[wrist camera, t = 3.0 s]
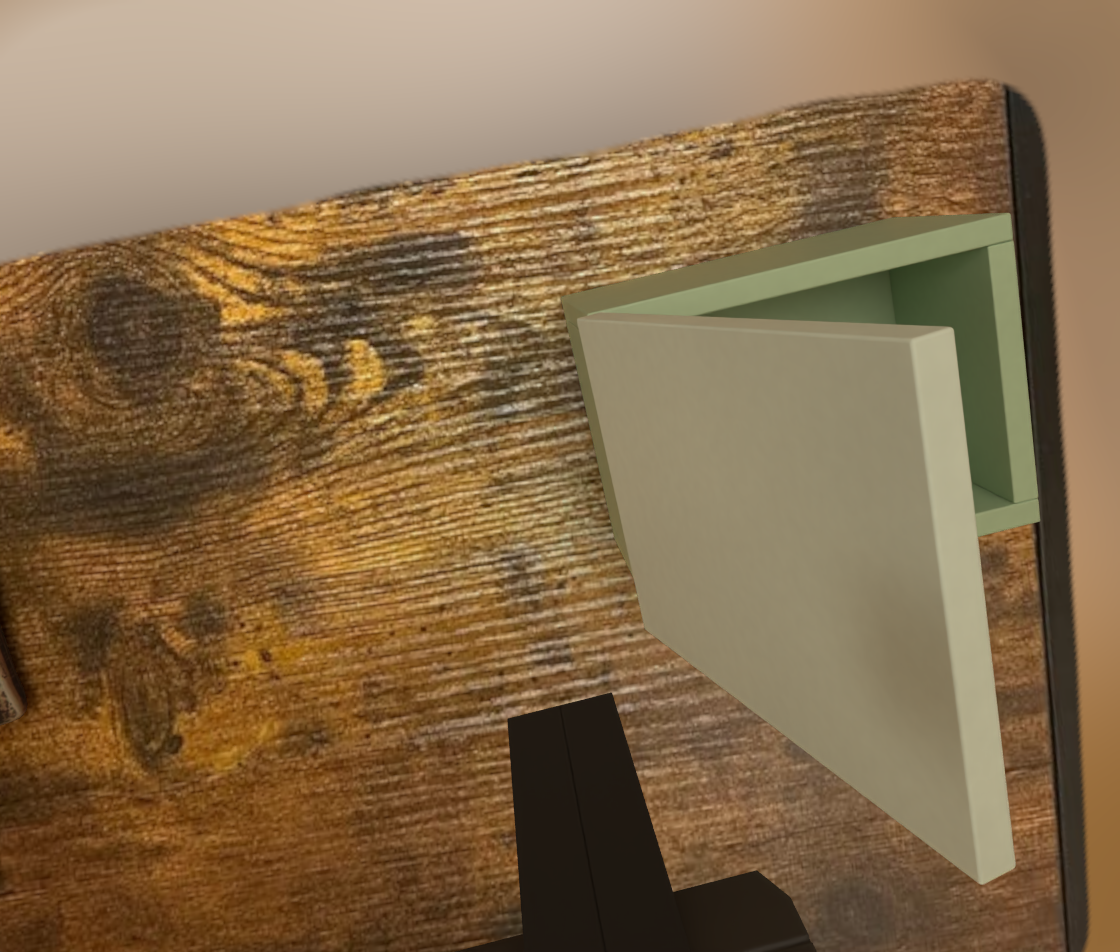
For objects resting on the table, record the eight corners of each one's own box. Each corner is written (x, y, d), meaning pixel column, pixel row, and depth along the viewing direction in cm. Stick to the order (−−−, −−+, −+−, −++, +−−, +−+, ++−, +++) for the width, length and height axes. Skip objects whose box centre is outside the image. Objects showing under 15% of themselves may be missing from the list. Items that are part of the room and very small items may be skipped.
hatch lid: (955, 325, 14) (911, 339, 14) (1018, 868, 16) (981, 887, 16) (601, 311, 27) (575, 318, 26) (667, 620, 29) (643, 629, 29)
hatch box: (893, 217, 35) (1011, 212, 27) (925, 464, 37) (1041, 521, 30) (560, 296, 34) (586, 313, 27) (614, 541, 37) (652, 619, 29)
